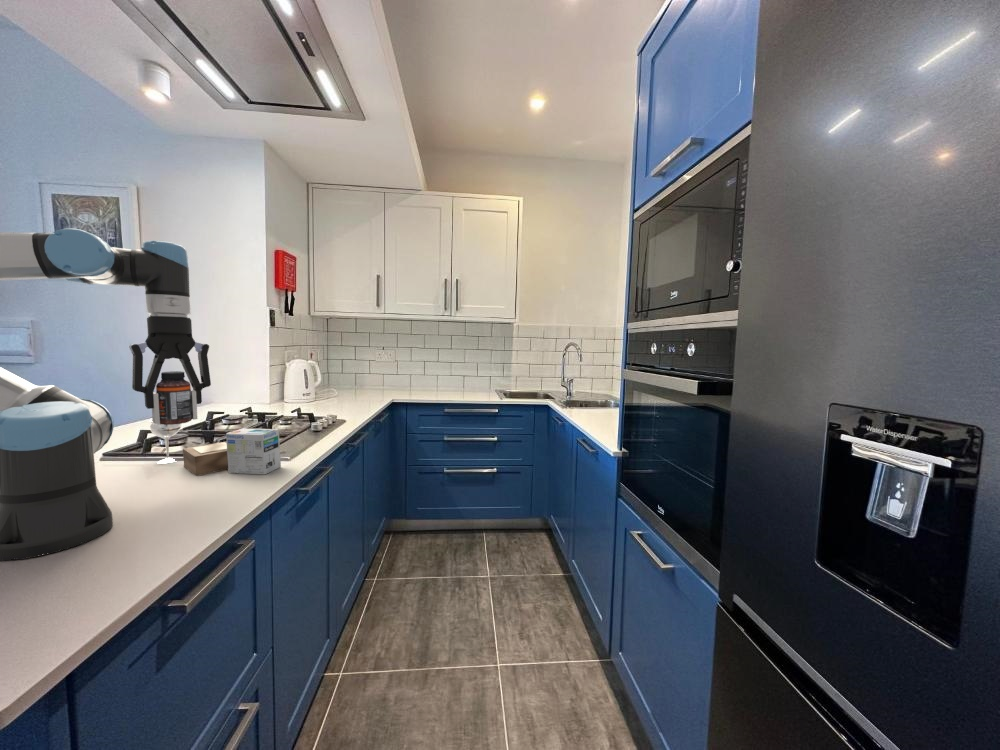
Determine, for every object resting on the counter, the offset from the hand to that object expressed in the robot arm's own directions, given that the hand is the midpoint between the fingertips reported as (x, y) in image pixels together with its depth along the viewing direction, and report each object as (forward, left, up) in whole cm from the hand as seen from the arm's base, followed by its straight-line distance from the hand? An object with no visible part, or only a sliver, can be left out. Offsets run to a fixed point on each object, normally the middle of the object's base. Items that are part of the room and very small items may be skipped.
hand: (175, 420), depth 90 cm
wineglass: (+4, +32, -17) cm, 36 cm away
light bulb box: (+17, +5, -17) cm, 25 cm away
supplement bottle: (0, 0, -1) cm, 1 cm away
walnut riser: (+11, +17, -17) cm, 26 cm away
